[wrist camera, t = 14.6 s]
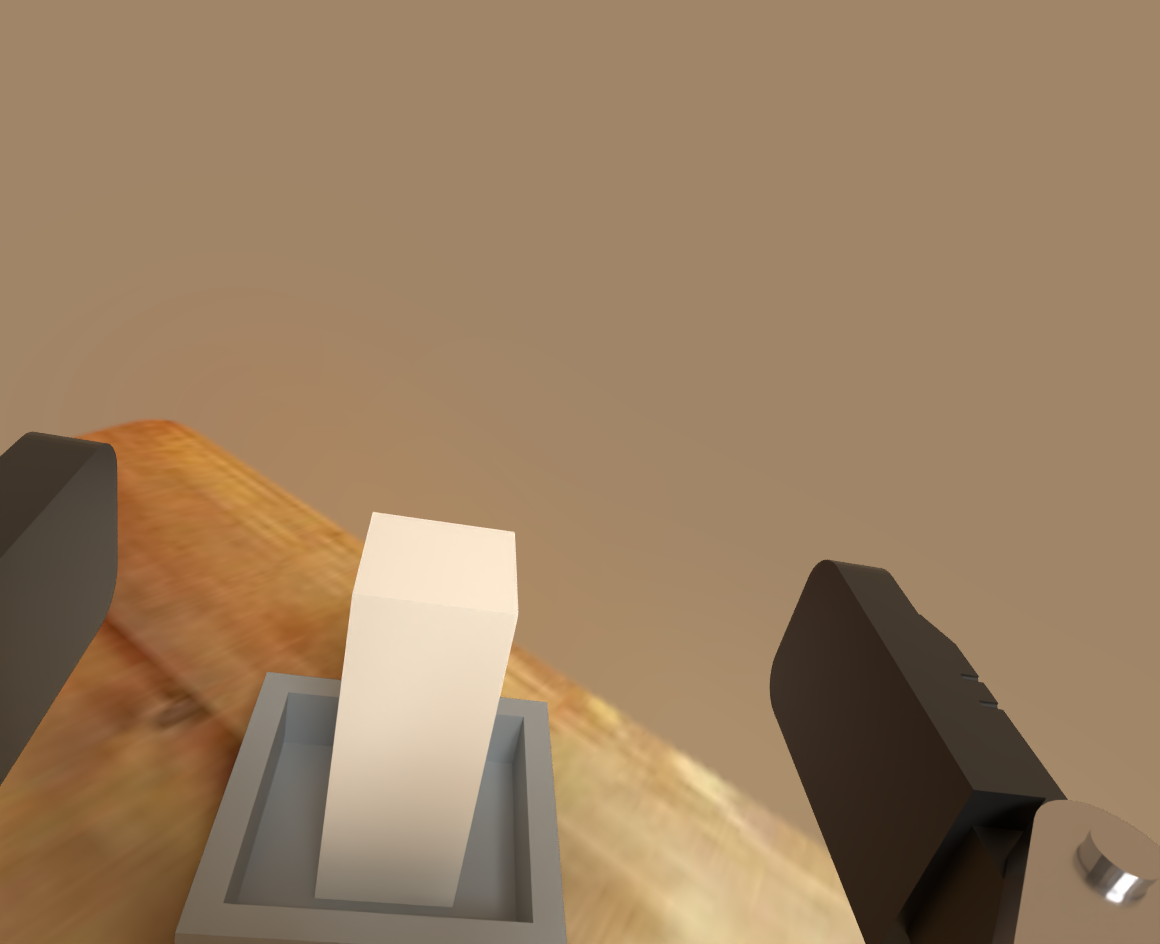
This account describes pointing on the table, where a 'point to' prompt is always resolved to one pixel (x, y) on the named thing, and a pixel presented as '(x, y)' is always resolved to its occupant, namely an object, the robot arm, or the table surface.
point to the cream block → (416, 708)
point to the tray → (295, 825)
